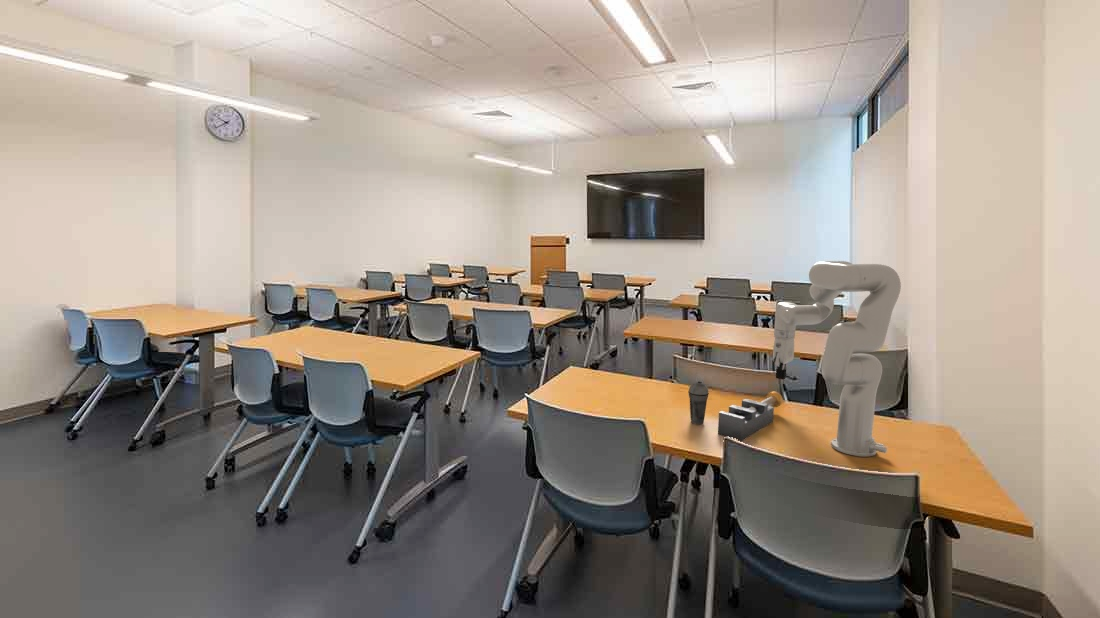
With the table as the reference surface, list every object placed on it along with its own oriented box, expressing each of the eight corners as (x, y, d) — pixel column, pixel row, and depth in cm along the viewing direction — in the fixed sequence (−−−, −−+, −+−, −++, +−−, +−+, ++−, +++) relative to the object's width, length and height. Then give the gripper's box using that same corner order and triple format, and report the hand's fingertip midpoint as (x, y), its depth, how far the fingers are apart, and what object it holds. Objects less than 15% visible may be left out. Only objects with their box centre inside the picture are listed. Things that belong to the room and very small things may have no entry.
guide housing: (772, 422, 183) (774, 400, 182) (741, 441, 166) (742, 417, 165) (750, 416, 189) (752, 395, 188) (717, 434, 172) (719, 411, 171)
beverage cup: (709, 426, 179) (712, 373, 176) (689, 426, 179) (692, 373, 177) (704, 419, 186) (706, 367, 184) (684, 418, 187) (686, 367, 184)
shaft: (782, 408, 192) (783, 393, 191) (753, 424, 174) (754, 408, 174) (766, 404, 196) (767, 389, 195) (737, 420, 179) (738, 404, 178)
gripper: (786, 338, 186) (782, 384, 189) (801, 332, 196) (797, 376, 199) (766, 334, 191) (763, 380, 194) (782, 329, 201) (778, 372, 204)
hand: (780, 378), depth 196 cm, fingers closed
